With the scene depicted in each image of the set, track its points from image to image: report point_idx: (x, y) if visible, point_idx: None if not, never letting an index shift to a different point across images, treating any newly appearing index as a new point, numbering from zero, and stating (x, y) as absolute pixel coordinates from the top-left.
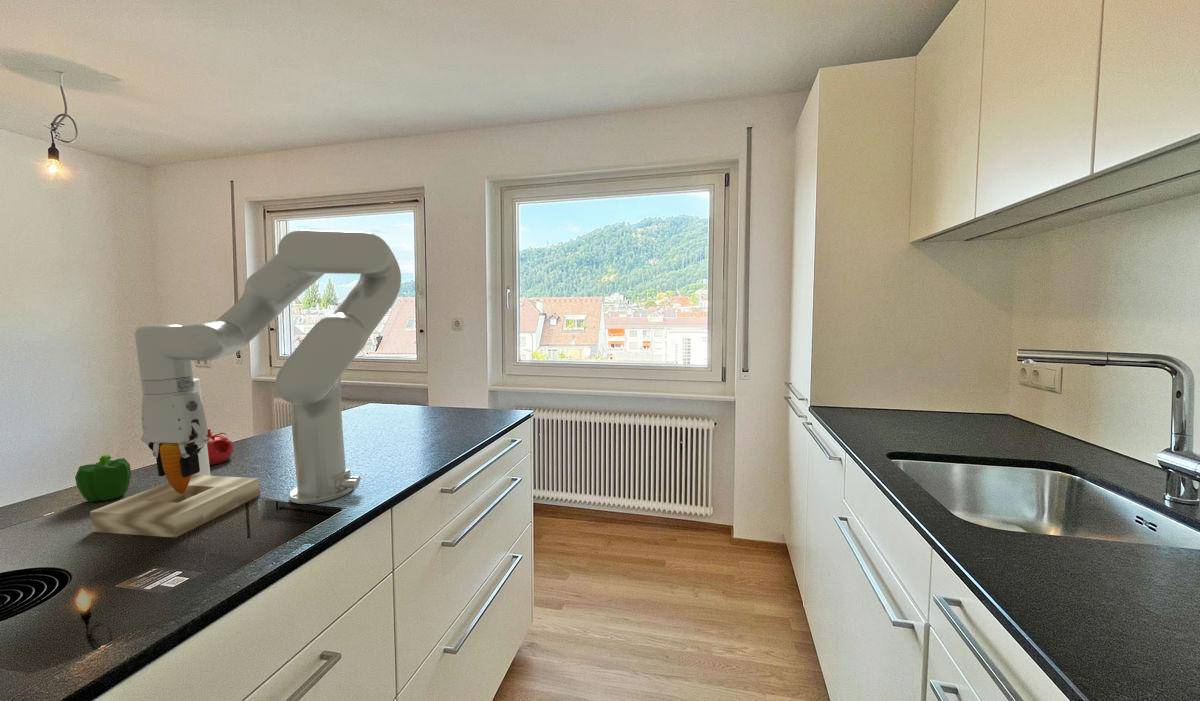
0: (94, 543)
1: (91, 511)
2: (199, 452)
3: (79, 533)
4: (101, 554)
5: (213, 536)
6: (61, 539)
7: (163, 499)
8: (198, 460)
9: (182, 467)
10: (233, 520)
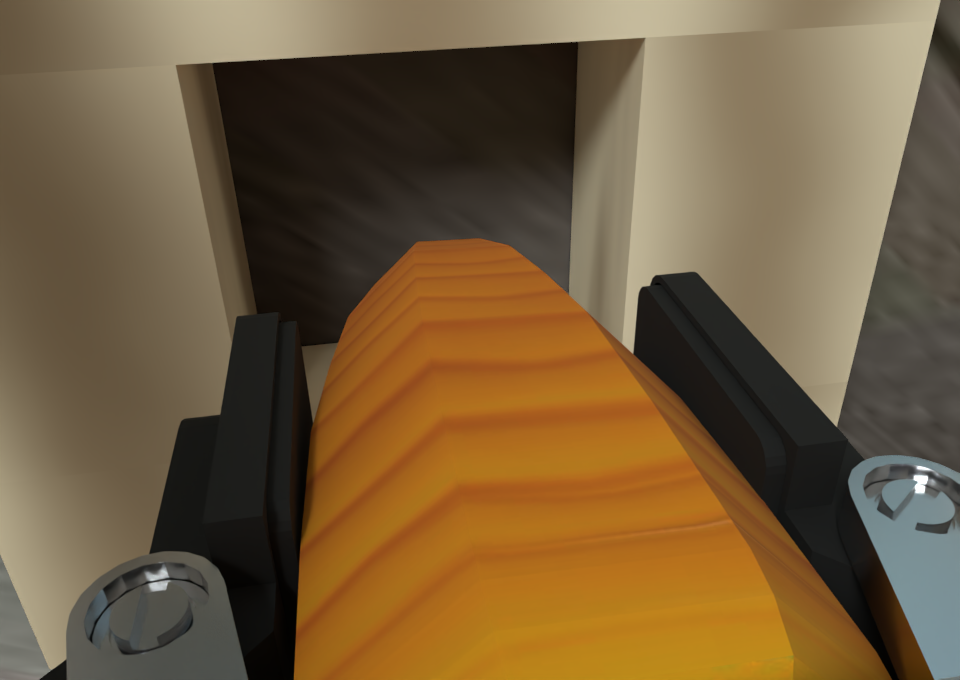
0: None
1: (56, 664)
2: (949, 487)
3: None
4: None
5: (948, 396)
6: (22, 632)
7: (229, 277)
8: (775, 361)
9: None
10: (941, 217)
